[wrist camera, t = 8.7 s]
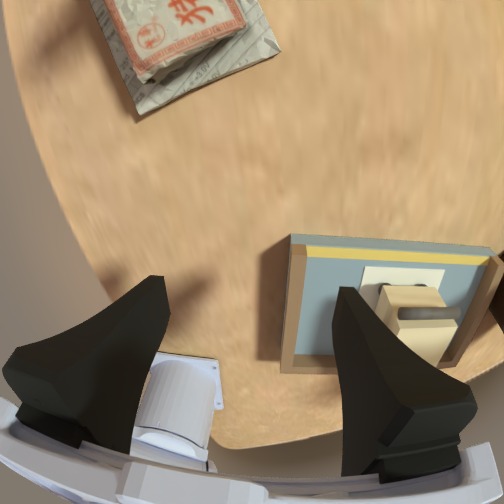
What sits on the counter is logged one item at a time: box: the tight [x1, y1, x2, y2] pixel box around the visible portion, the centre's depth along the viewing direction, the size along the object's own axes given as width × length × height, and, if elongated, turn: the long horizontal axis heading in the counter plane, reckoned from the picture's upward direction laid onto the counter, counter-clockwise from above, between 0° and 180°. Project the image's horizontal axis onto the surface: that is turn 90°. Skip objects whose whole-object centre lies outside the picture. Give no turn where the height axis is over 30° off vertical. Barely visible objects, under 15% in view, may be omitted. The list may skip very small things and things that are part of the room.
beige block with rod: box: [375, 283, 461, 367], centre depth 21 cm, size 8×4×6 cm, turn 179°
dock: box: [280, 234, 504, 374], centre depth 23 cm, size 12×18×3 cm, turn 90°
